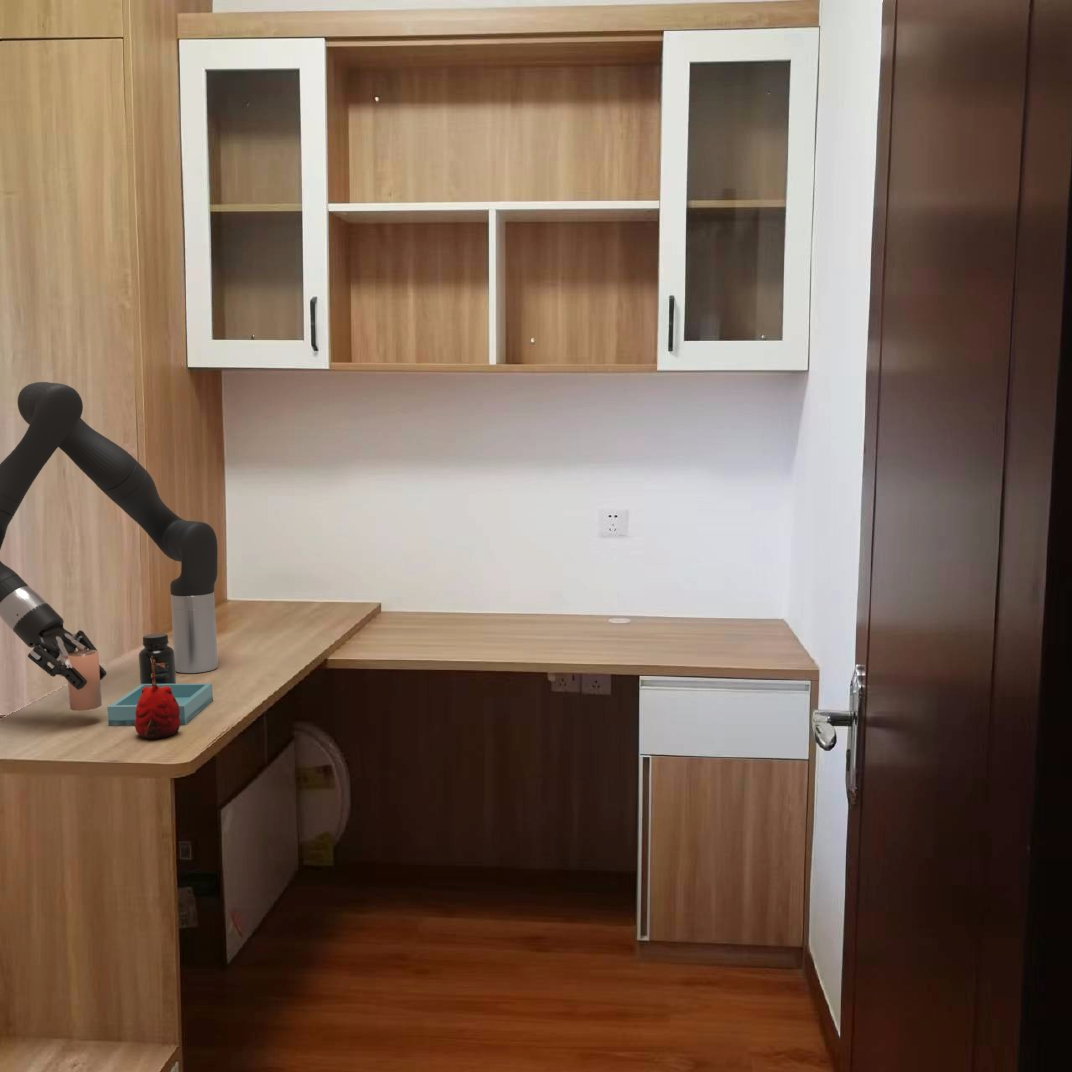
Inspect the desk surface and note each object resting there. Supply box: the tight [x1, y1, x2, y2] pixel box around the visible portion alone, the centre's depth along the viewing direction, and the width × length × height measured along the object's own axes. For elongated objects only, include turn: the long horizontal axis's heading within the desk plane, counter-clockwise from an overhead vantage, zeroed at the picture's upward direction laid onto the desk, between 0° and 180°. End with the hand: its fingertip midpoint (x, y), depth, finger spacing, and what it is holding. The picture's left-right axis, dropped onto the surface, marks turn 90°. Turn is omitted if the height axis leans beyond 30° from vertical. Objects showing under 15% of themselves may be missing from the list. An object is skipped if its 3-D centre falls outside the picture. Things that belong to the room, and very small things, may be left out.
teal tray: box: [107, 682, 214, 726], centre depth 192 cm, size 16×14×4 cm
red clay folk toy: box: [134, 656, 181, 740], centre depth 178 cm, size 8×7×15 cm
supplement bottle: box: [138, 633, 177, 685], centre depth 206 cm, size 7×7×12 cm
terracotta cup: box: [67, 649, 103, 712], centre depth 186 cm, size 5×5×10 cm
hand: (93, 681), depth 185 cm, fingers closed on terracotta cup, 5 cm apart
